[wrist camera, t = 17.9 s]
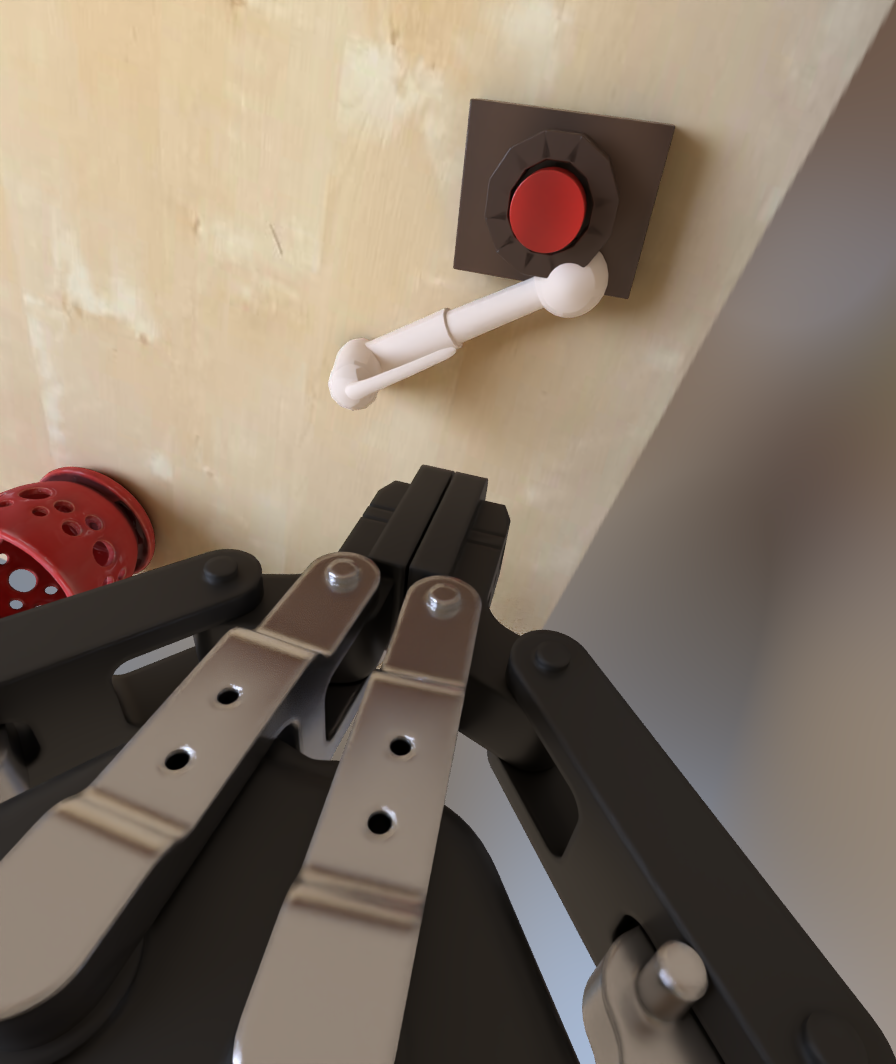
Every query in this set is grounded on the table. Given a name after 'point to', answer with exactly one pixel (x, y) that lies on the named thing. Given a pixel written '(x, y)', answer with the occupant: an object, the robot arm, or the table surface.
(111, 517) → the flower pot
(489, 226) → the button block
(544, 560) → the table surface
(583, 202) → the button
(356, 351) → the faucet
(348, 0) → the table surface
